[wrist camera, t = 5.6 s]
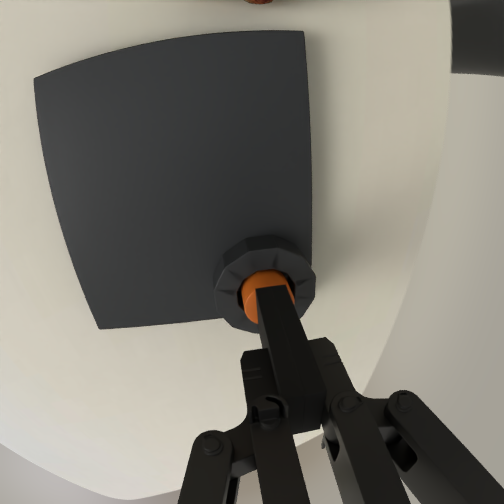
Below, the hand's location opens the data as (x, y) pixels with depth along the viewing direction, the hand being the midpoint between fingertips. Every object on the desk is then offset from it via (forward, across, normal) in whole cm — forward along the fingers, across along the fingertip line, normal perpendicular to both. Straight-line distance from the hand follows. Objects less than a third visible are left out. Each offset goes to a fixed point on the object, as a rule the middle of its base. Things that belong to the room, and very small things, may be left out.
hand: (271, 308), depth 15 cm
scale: (+4, -4, +6) cm, 8 cm away
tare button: (+2, 0, 0) cm, 2 cm away
